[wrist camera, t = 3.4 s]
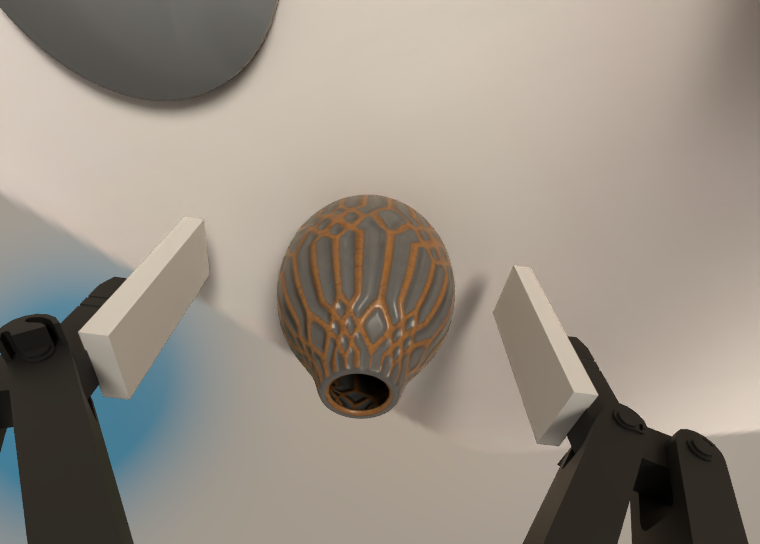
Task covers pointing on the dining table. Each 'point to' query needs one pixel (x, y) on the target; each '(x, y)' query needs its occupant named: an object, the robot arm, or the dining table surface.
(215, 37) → the grey flat disc
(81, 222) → the dining table surface
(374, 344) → the vase
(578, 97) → the dining table surface
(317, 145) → the dining table surface
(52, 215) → the dining table surface
